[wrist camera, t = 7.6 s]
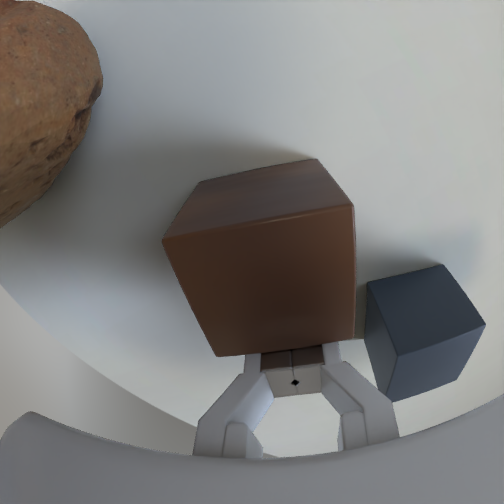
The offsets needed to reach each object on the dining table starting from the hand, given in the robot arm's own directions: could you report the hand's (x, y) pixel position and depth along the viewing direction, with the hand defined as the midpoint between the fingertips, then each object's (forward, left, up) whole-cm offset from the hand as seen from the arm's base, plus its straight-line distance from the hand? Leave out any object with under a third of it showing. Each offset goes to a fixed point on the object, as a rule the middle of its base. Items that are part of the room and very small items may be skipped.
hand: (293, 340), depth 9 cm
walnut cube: (0, +3, -3) cm, 5 cm away
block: (-9, +11, -3) cm, 14 cm away
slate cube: (+6, -3, -3) cm, 7 cm away
